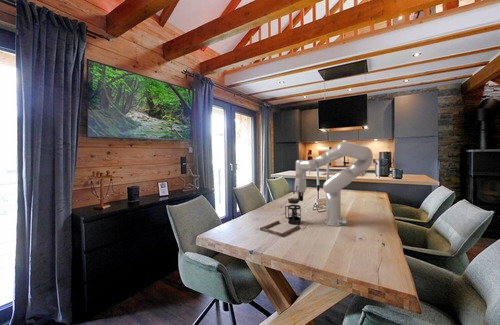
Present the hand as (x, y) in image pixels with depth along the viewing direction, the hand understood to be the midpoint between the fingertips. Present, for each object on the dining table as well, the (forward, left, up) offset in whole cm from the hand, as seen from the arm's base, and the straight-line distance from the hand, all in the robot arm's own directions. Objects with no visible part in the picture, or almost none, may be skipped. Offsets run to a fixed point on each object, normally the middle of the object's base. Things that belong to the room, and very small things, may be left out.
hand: (300, 200), depth 162 cm
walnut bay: (-1, +27, -14) cm, 30 cm away
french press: (-1, +11, -14) cm, 18 cm away
